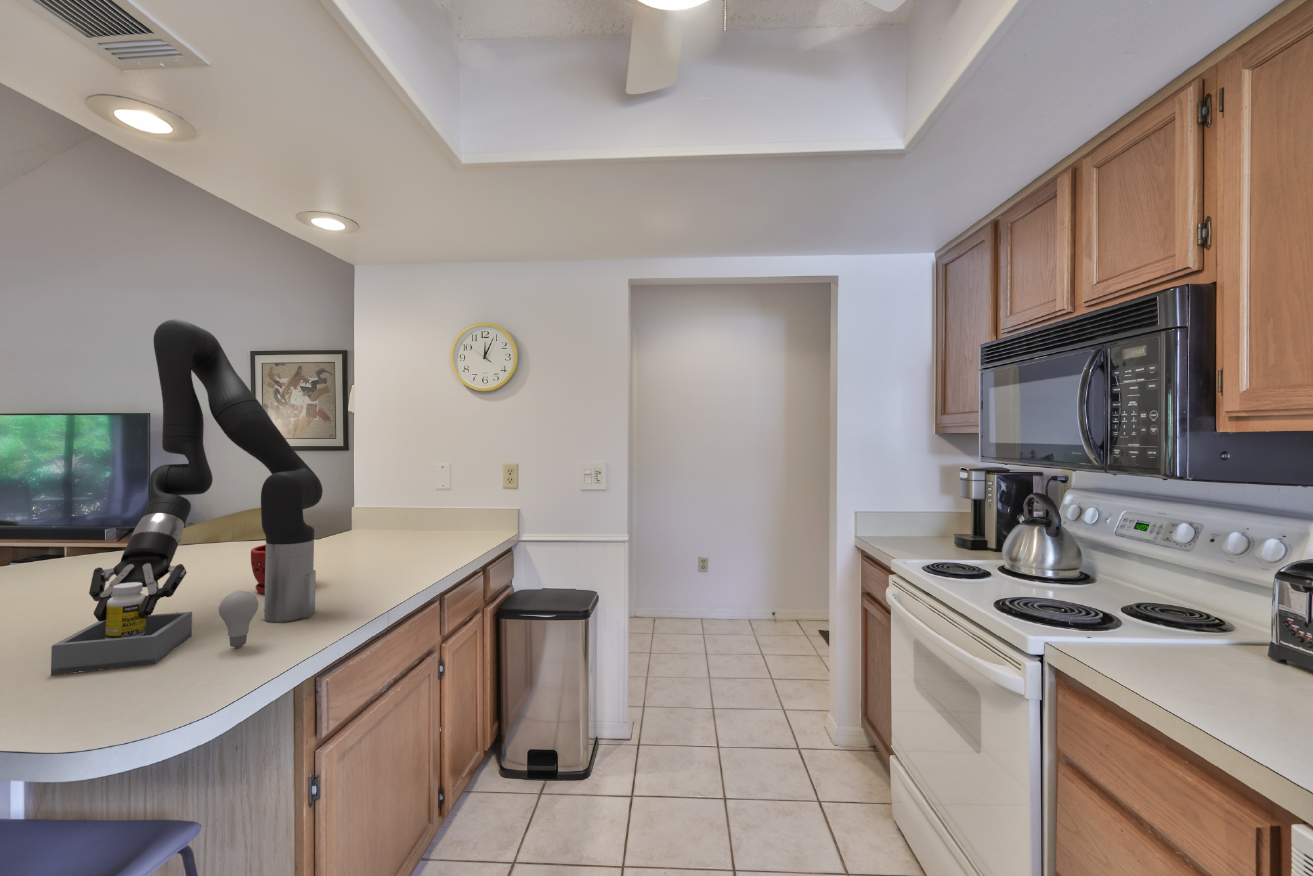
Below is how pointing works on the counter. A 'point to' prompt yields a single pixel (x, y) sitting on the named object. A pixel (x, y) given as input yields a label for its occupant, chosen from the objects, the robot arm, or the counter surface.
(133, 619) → the supplement bottle
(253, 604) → the lightbulb
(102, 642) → the tote
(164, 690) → the counter surface
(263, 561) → the plant pot
